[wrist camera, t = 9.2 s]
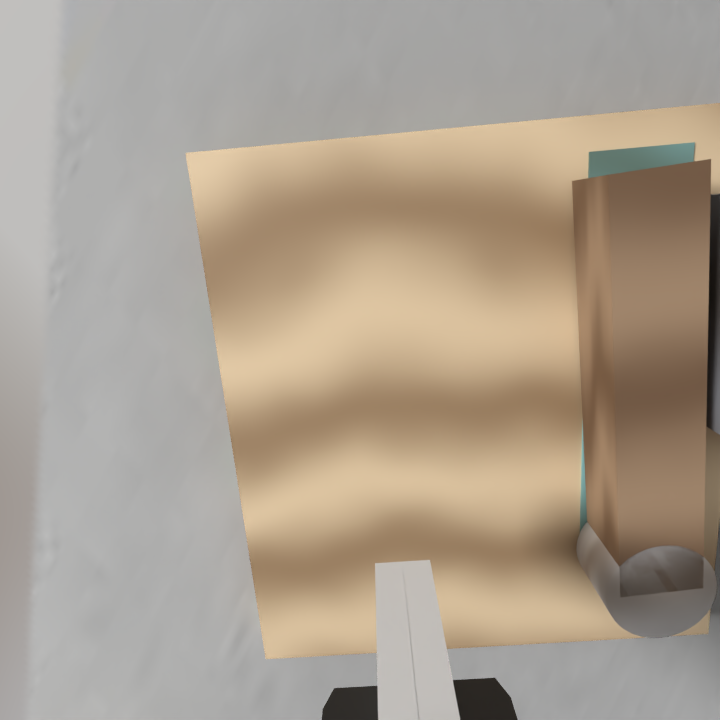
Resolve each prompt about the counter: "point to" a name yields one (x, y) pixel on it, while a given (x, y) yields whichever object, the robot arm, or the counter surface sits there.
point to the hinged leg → (645, 392)
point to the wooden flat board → (423, 368)
